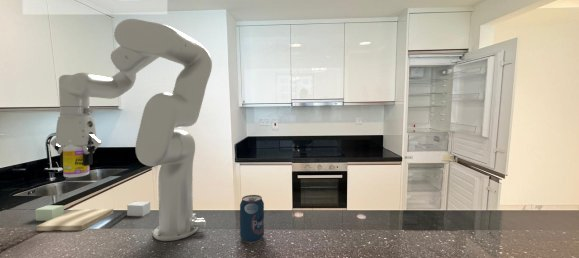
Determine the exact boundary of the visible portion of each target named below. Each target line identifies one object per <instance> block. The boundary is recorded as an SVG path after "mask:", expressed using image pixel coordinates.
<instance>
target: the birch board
mask: <svg viewBox="0 0 579 258" xmlns="http://www.w3.org/2000/svg"><path fill="white" fill-rule="evenodd" d="M113 214H114V209H113V208H110V209H109V208H101V209H99V208H97V209H96V208H94V209H93V208H90V209H82V208H81V209H72V210H69V211H67V212H66V213H65V212H64V214H63V215H61V216H58V217H56V218H54V219H51V220H49V221H45V222H43V223H39V224H38V225H35V231H36V232H46V231H51V232H52V231H53V230H62V231H84V230H85V229H87V228H88V227H91V226H92V225H94V224H96V223H98V222H100V221H101V220H103V219H105V218H107V217H109V216H111V215H113ZM83 229H84V230H83Z"/></svg>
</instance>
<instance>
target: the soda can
mask: <svg viewBox="0 0 579 258" xmlns="http://www.w3.org/2000/svg"><path fill="white" fill-rule="evenodd" d="M264 234H265V203H264V200H263V197H262V196H261V195H257V194H249V195H244V196H243V197H242V198H241V201H240V204H239V236H240V237H241V239H242V242H244V243H247V244H248V243H249V244H253V243H257V242H260V241H261V240H262V238H263V237H264Z"/></svg>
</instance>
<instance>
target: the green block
mask: <svg viewBox="0 0 579 258" xmlns="http://www.w3.org/2000/svg"><path fill="white" fill-rule="evenodd" d="M64 209H65V206H64V205H56V204H55V205H54V204H53V205H50V204H49V205H45V206H41V207H39V208H36V209H35V212H34V213H35V221H39V222H40V221H45V222H47V221H49V220H51V219H54V218H56V217H58V216H61V215H63V214H65V210H64Z"/></svg>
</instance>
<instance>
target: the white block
mask: <svg viewBox="0 0 579 258" xmlns="http://www.w3.org/2000/svg"><path fill="white" fill-rule="evenodd" d="M126 206H127V208H126V212H127V217H128V216H129V217H130V216H131V217H145V216H146V215H148V214H149V213H151V202H150V201H134V202H131V203H129V204H127V205H126Z"/></svg>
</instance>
